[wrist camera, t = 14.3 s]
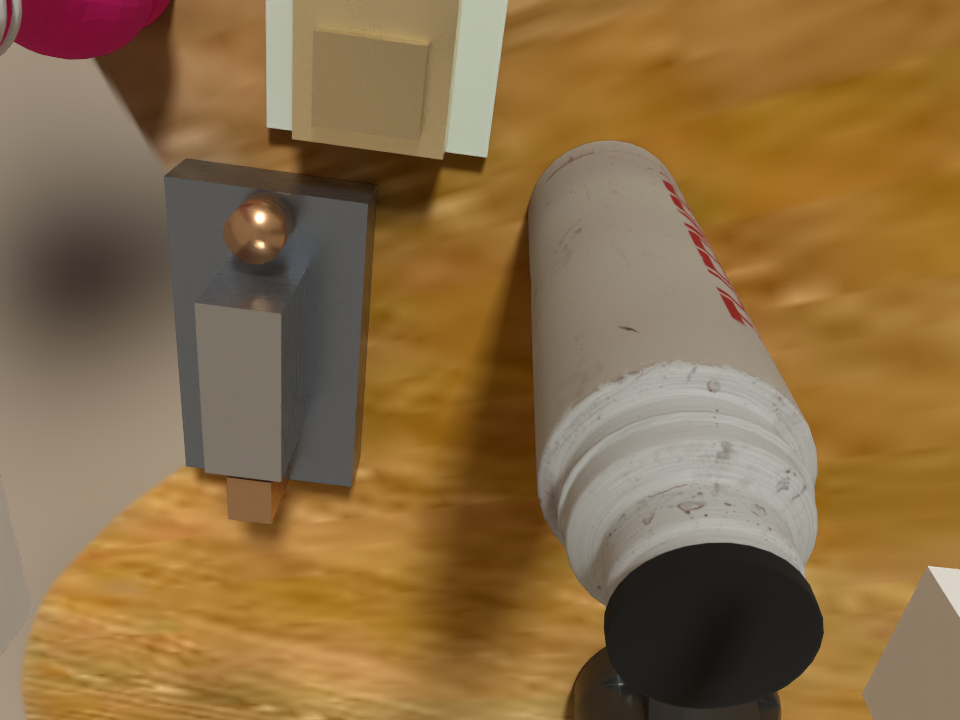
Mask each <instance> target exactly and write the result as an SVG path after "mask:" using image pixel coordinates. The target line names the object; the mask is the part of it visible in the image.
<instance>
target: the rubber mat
mask: <svg viewBox="0 0 960 720" xmlns="http://www.w3.org/2000/svg"><path fill="white" fill-rule="evenodd" d="M507 3H508V0H463V4H462V13H461V22H460V32H459V41H458V50H457V60H456V69H455V78H454V88H453V97H452V107H451V116H450V125H449V135H448V143H447V147H446V150H445V152H450V153H457V154H464V155H472V156H479V157H486V158H487V154H488V146H489V139H490V131H491V124H492V116H493V109H494V101H495V94H496V86H497V78H498V71H499V63H500V56H501V48H502V41H503V33H504V26H505V18H506V11H507ZM292 57H293V0H266V86H267V127H268V128H276V129H283V130H290V131H292Z"/></svg>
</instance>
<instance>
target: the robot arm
mask: <svg viewBox="0 0 960 720" xmlns="http://www.w3.org/2000/svg"><path fill="white" fill-rule="evenodd" d="M32 611H33V606H32V601H31V598H30V594H29V589H28V585H27V582H26V577H25V573H24V569H23V565H22V561H21V557H20V553H19V549H18V545H17V541H16V537H15V533H14V529H13V525H12V521H11V517H10V513H9V509H8V505H7V501H6V497H5V493H4V488H3V484H2V480H1V477H0V657H1V656H2V654H3V653H4V652H5V650H6V649H7V647H8V646H9V644H10V643H11V641H12V640H13V638H14V637H15V636H16V634H17V633H18V631H19V630H20V628H21V627H22V625H23V624H24V622H25V621H26V620H27V618H28V617H29V615H30V614H31V612H32ZM862 695H863V697H864V699H865V702H866V704H867V706H868V709H869V711H870V713H871V715H872V718H873V720H960V569H951V568H941V567H932V566H927V568H926V570H925V572H924V574H923V576H922V578H921V580H920V582H919V584H918V586H917V588H916V590H915V592H914V594H913V595H912V597H911V599H910V601H909V603H908V605H907V607H906V609H905V611H904V613H903V615H902V617H901V619H900V621H899V623H898V625H897V627H896V629H895V631H894V633H893V635H892V637H891V639H890V641H889V642H888V644H887V646H886V648H885V650H884V652H883V654H882V656H881V658H880V660H879V662H878V664H877V666H876V668H875V670H874V672H873V674H872V676H871V678H870V680H869V682H868V684H867V686H866V688H865V689H864V691H863V693H862ZM573 701H574V715H575V720H781V705H780V699H779V696H778V692H775V693H773V694H771V695H769V696H766V697H764V698H761V699H759V700H756V701H754V702H750V703H746V704H742V705H738V706H734V707H726V708H717V709H692V708H684V707H677V706H672V705H669V704H665V703H662V702H658V701H656V700H653V699H651V698H649V697H647V696H645V695H642V694H640V693H639V692H637V691H636V690H635V689H633V688H632V687H630V686H629V685H627V684H626V683H625V681H624V680H623V679H622V678H621V677H620V676H619V675H618V674H617V673H616V671H615V669H614V667H613V666H612V664H611V662H610V660H609V656H608V652H607V648H604V649H603V650H602V651H600V652H599V653H597V654H596V655H595V656H594V657H593V658H592V659H591V660H590V661H589V662H588V663H587V664H586V665H585V666H584V668H583V669H582V671H581V672H580V674H579V676H578V678H577V680H576V683H575V687H574V693H573Z"/></svg>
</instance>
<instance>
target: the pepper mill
mask: <svg viewBox="0 0 960 720" xmlns="http://www.w3.org/2000/svg"><path fill="white" fill-rule="evenodd" d="M170 1H171V0H0V56H1V55H2V54H4V53H5V52H6V50H7V49H8V48H9V47H10V46H11V45H12V43H13V42H16V43H17V44H19V45H21V46H23V47H25V48H27V49H29V50H31V51H34V52H36V53H39V54H42V55H47V56H52V57H57V58H63V59H88V58H92V57H97V56H102V55H107V54H109V53H112V52H114V51H116V50H119V49H120V48H122V47H123V46H125V45H126V44H128V43H129V42H130V41H131V40H132V39H133V38H134V37H135V36H136V35H137V34H138V33H139V31H140V30H141V29H142V28H144V27H146V26H148V25H150V24H151V23H153V22H154V21H156V20H157V19H158V18H159V16H160V15H161V14H162V13H163V12H164V11H165V9H166V7H167V6H168V4H169V2H170Z"/></svg>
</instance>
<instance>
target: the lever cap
mask: <svg viewBox="0 0 960 720" xmlns="http://www.w3.org/2000/svg"><path fill="white" fill-rule="evenodd" d="M462 4H463V0H293V57H292V139H295V140H303V141H310V142H317V143H324V144H332V145H339V146H346V147H354V148H361V149H368V150H375V151H383V152H390V153H397V154H404V155H412V156H419V157H426V158H433V159H441V160H443V157H444V154H445V150H446V147H447V143H448V135H449V125H450V116H451V107H452V97H453V88H454V78H455V69H456V60H457V50H458V41H459V32H460V22H461V13H462Z"/></svg>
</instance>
